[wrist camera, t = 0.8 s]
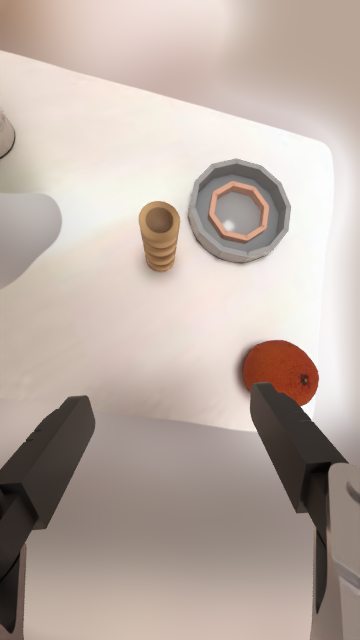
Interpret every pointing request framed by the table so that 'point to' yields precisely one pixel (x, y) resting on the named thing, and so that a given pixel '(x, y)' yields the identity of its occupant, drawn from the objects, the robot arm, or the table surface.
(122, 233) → the table surface
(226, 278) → the table surface
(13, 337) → the table surface
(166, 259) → the bead stack
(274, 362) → the fruit
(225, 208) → the round tray
